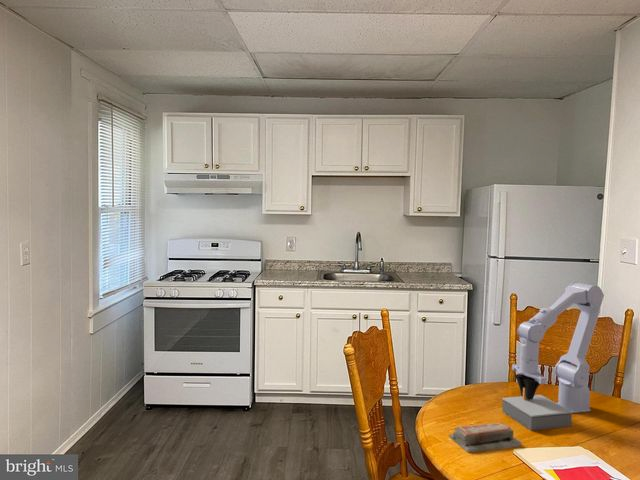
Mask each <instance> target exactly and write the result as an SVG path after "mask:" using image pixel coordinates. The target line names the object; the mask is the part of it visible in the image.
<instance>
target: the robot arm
mask: <svg viewBox="0 0 640 480" xmlns="http://www.w3.org/2000/svg"><path fill="white" fill-rule="evenodd" d="M564 290H565V292H564V293H563V294H561V296H560V297H559V298H557V300H556V301H555V302H554V303H553V304H552V305H550V307H548V308H547V307H543V308H541V309H539V312H537V313H536V314H535V315H534V316H533V317H531V318H529V320H528V321H523V322H522V323H520V324H519V325H518V328H517V329H516V333H517V335H518V336H519V337H518V338H519V342H520V345H519V346H520V349H519V350H520V351H519V364H517V363H513V364H512V365H511V370H512V371H515V372H516V374H515V375H514V376H515V378H516V379H515V380H516V381H517V383H518V387H519V391H520V396H522V397H523V388H525V387H526V398H527V399H528V400H530V399H533V397H534V395H536V391H537V390H538V388H539V386H540V385H545V384H547V378H546V377H545V376H543V375H542V374H541V373H540V372H539V353H540V352H539V351H540V350H539V349H540V342H541V341H542V340H543V339H544V336H545V334H546V331H547V330H548V329H550V328H551V326H553V325H554V324H555V323H556V322H557V321H558V316H559V315H561V314H562V313H563V312H564V311H566V310H567V309H568V308H570V307H571V306H572V305H574V304H575V305H576V306H577V307H578V308H579V310H580V314H579V317H578V321H577V322H576V327H575V330H574V333H573V335H572V339H571V341H570V344H569V348H568V350H567V351H568V352H567V353H566V354H565V353H564V355H561V356H560V358H559V360H558V361H557V363H556V364H555V366H554V374H555V376H556V377H557V380H558V383H559V384H558V396H557V398H558V401H557V402H556V403H557V404H559V405H561V406H563V407H564V408H566V409H568V410H570V411H572V413H571V414H576V413H587V412H591V411H592V409H591V408H590V402H591V401H590V399H591V398H590V397H591V392H590V388H589V386H588V384H587V383H588V382H589V379H590V378H589V377H590V368H591V367H590V365H589V363H588V362H587V361H586V357H587V354H588V350H589V347H590V344H591V341H592V337H593V334H594V331H595V328H596V326H597V322H598V319H599V315H600V313H601V307H602V304H603V300H604V296H605V294H604V292H603V291H602V289H601V287H600V286H598V285H592V284H585V283H582V282H577V281H573V282H571V283H570V284H568V285H567V286H566V287H565V289H564Z"/></svg>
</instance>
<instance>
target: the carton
mask: <svg viewBox="0 0 640 480" xmlns="http://www.w3.org/2000/svg"><path fill="white" fill-rule="evenodd" d="M501 412H502V413H503V414H505V415H506V416H508V417H510V418H511V419H513V420H514V421H516V422H517V423H519V424H520V425H522V426H523V427H524V428H526V429H528V430H529V431H531V432H532V431H539V430H540V431H542V430H550V429H559V428H567V427H568V428H569V427H572V418H573V417H572V415H573V413H569V414H559V415H549V416H539V417H530V416H529V415H527V414H525V413H524V412H522V411H520V410H519V409H517V408H516V407H514V406H512V405H511V404H509V403H508V402H506V401H504V400H503V399H502V411H501Z"/></svg>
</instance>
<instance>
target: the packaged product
mask: <svg viewBox="0 0 640 480" xmlns="http://www.w3.org/2000/svg"><path fill="white" fill-rule="evenodd" d="M448 437H449V438H450V439H451V440H452V441H453V442H454V443H455V444H457V445H458V446H459V447H460V448H461V449H463V450H464V451H465V452H466V453H477V452H485V451H487V452H488V451H494V450H503V449H509V448H517V447H521V446H522V441H521V440H519V439H517V438H516V437H514V430H513V429H512V428H511V427H510V426H509V425H507V424H505V423H500V422H495V423H494V422H493V423H483V424H474V425H472V424H470V425H462V426H456V427H455V428H454V431H453V433H452V434H449V435H448Z"/></svg>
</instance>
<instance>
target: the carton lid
mask: <svg viewBox="0 0 640 480" xmlns="http://www.w3.org/2000/svg"><path fill="white" fill-rule="evenodd" d="M503 400H504V401H506V402H508V403H509V404H511V405H512V406H514V407H516V408H517V409H519V410H520V411H522V412H524V413H525V414H527V415H529V416H530V417H539V416H549V415H559V414H569V413H571V414H573V413H572V411H570V410H568V409H566V408H564V407H563V406H561V405H559V404H557V403H558V402H555V401H553V400H552V399H550V398H548V397H546V396H544V395H543V394H534V397H533V399H530V400H528V399H527V398H526V387H525V388H523V397H522V396H521V395H520V396H512V397H511V396H509V397H502V401H503Z"/></svg>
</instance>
